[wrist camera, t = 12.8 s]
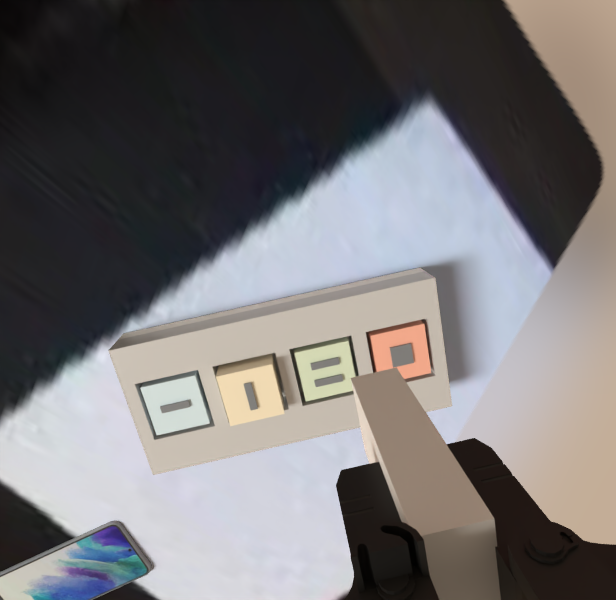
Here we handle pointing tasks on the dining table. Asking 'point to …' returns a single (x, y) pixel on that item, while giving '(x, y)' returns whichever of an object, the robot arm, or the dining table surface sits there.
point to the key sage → (325, 368)
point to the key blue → (176, 402)
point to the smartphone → (78, 567)
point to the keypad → (277, 363)
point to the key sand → (250, 389)
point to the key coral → (400, 349)
